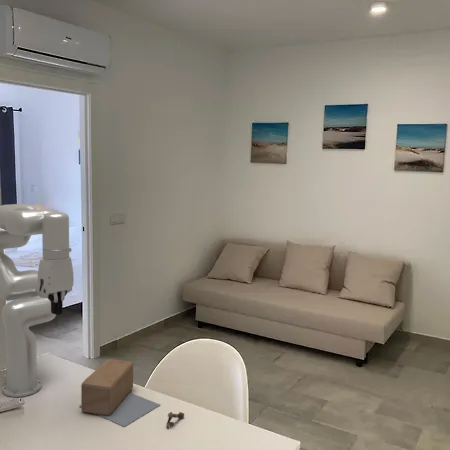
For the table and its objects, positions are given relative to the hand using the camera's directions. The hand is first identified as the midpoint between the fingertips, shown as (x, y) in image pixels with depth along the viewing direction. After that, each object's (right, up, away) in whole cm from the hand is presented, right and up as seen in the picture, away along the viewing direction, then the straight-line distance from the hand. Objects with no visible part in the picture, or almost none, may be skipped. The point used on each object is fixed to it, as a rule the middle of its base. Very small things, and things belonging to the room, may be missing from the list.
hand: (56, 313), depth 151 cm
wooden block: (+10, -28, +4) cm, 30 cm away
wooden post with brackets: (+36, -35, +3) cm, 50 cm away
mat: (+17, -32, +12) cm, 38 cm away
